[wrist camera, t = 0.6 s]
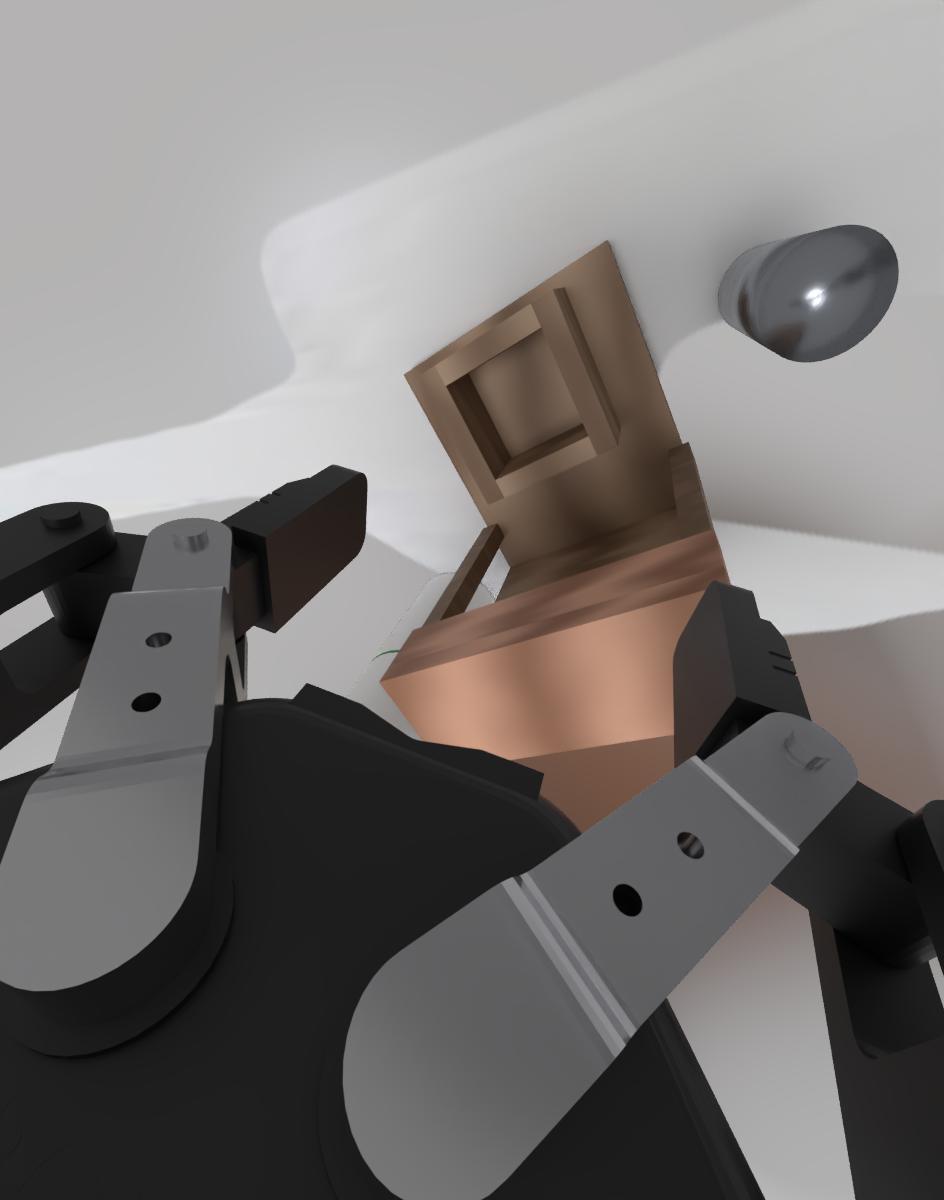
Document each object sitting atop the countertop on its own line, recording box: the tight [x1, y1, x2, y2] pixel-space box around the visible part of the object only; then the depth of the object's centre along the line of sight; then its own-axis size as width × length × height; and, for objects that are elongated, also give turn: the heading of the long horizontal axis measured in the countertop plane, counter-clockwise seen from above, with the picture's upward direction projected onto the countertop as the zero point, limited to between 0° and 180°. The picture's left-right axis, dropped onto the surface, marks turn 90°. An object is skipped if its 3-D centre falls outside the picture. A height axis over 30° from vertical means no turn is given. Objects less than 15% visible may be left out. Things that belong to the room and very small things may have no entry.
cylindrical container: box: [346, 573, 495, 741], centre depth 34 cm, size 7×7×25 cm
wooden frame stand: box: [379, 241, 731, 760], centre depth 26 cm, size 15×18×19 cm
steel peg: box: [718, 225, 899, 362], centre depth 22 cm, size 4×4×12 cm
